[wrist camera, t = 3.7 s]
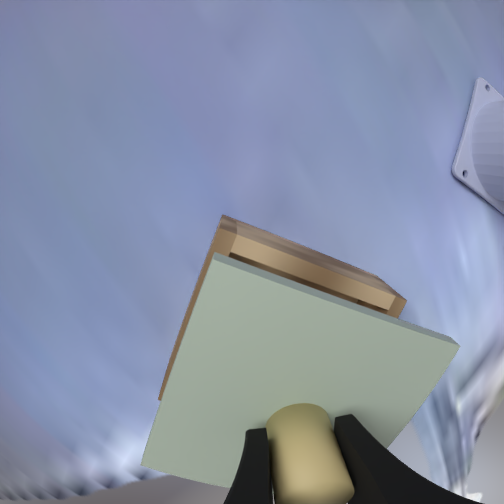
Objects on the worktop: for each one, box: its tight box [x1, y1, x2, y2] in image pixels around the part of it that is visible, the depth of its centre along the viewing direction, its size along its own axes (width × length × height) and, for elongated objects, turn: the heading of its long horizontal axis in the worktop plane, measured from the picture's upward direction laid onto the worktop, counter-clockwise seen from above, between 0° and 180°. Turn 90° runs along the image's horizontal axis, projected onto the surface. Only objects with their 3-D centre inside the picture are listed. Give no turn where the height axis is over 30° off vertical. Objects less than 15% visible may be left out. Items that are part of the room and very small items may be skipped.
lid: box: [141, 252, 460, 504], centre depth 9 cm, size 10×10×4 cm
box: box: [158, 214, 407, 401], centre depth 17 cm, size 10×10×4 cm
